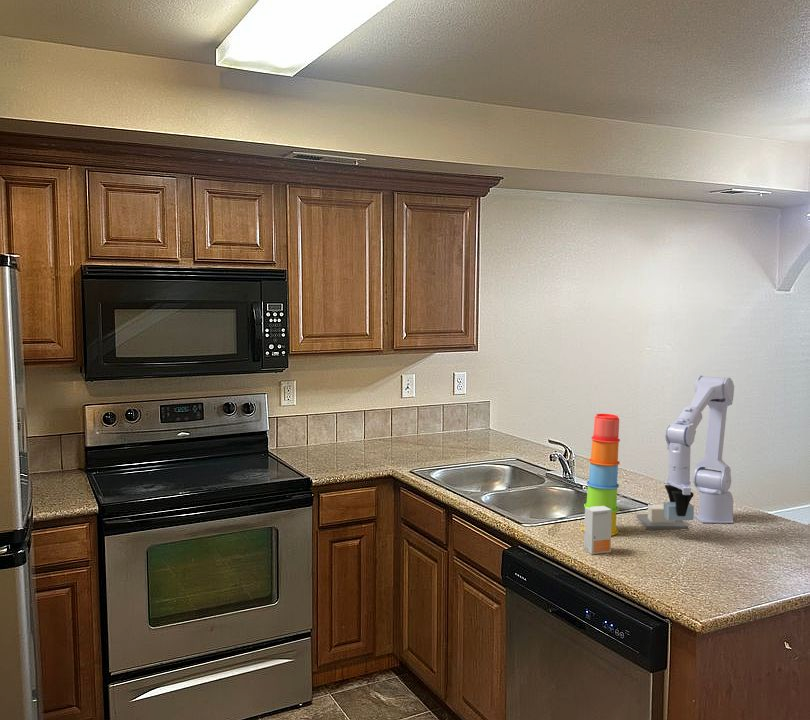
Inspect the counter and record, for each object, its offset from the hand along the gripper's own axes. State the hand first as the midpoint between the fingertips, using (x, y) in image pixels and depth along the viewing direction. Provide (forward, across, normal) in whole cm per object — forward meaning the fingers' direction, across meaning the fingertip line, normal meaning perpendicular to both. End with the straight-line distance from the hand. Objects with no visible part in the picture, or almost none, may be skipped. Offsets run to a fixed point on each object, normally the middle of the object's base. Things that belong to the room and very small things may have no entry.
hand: (678, 513), depth 218 cm
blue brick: (+1, 0, 0) cm, 1 cm away
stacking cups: (+7, -5, -21) cm, 23 cm away
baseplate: (+7, -13, -1) cm, 15 cm away
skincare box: (+7, +12, -25) cm, 29 cm away
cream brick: (+6, -13, -1) cm, 14 cm away
